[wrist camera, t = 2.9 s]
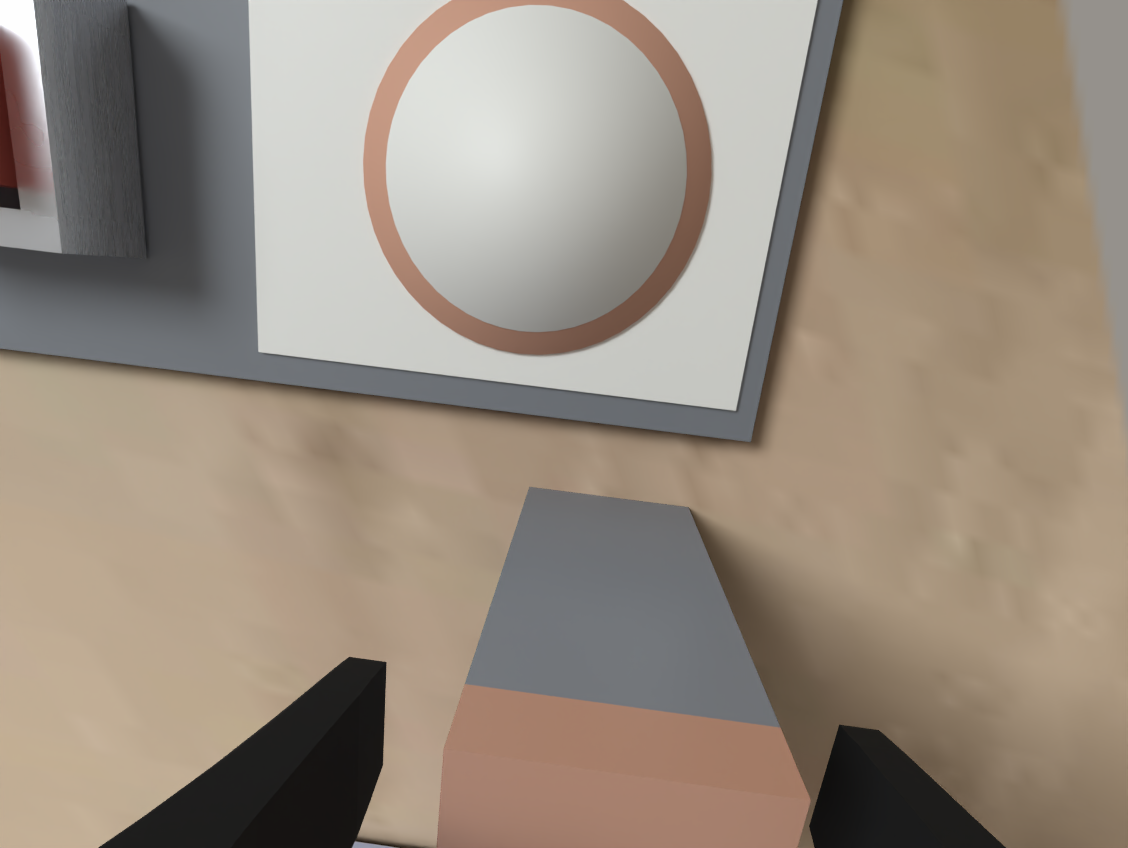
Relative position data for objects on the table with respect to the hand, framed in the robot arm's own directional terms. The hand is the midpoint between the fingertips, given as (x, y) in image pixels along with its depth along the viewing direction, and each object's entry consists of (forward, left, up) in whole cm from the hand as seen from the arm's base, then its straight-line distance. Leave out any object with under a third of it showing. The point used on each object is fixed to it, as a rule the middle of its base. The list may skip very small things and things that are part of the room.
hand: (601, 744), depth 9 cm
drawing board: (+9, +7, -6) cm, 12 cm away
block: (0, 0, -6) cm, 6 cm away
